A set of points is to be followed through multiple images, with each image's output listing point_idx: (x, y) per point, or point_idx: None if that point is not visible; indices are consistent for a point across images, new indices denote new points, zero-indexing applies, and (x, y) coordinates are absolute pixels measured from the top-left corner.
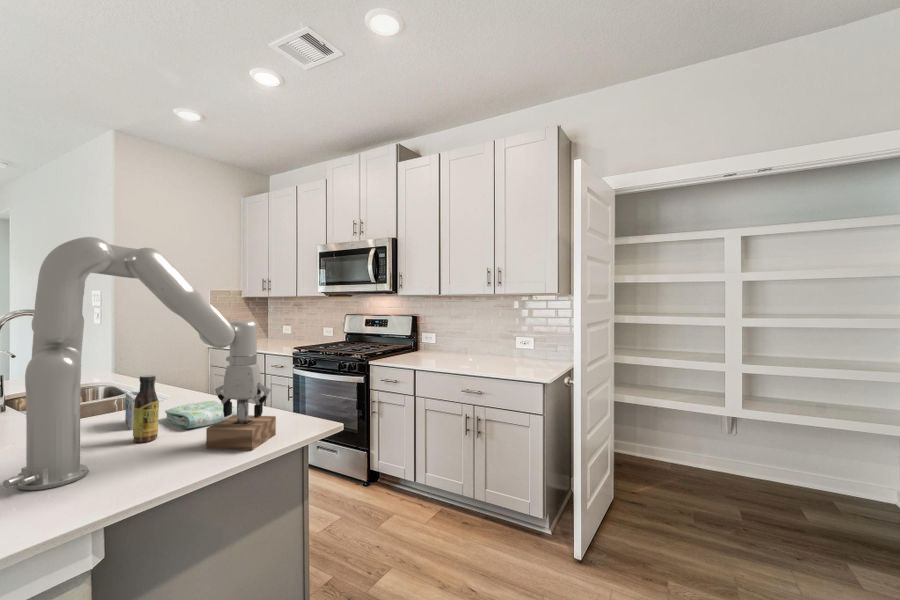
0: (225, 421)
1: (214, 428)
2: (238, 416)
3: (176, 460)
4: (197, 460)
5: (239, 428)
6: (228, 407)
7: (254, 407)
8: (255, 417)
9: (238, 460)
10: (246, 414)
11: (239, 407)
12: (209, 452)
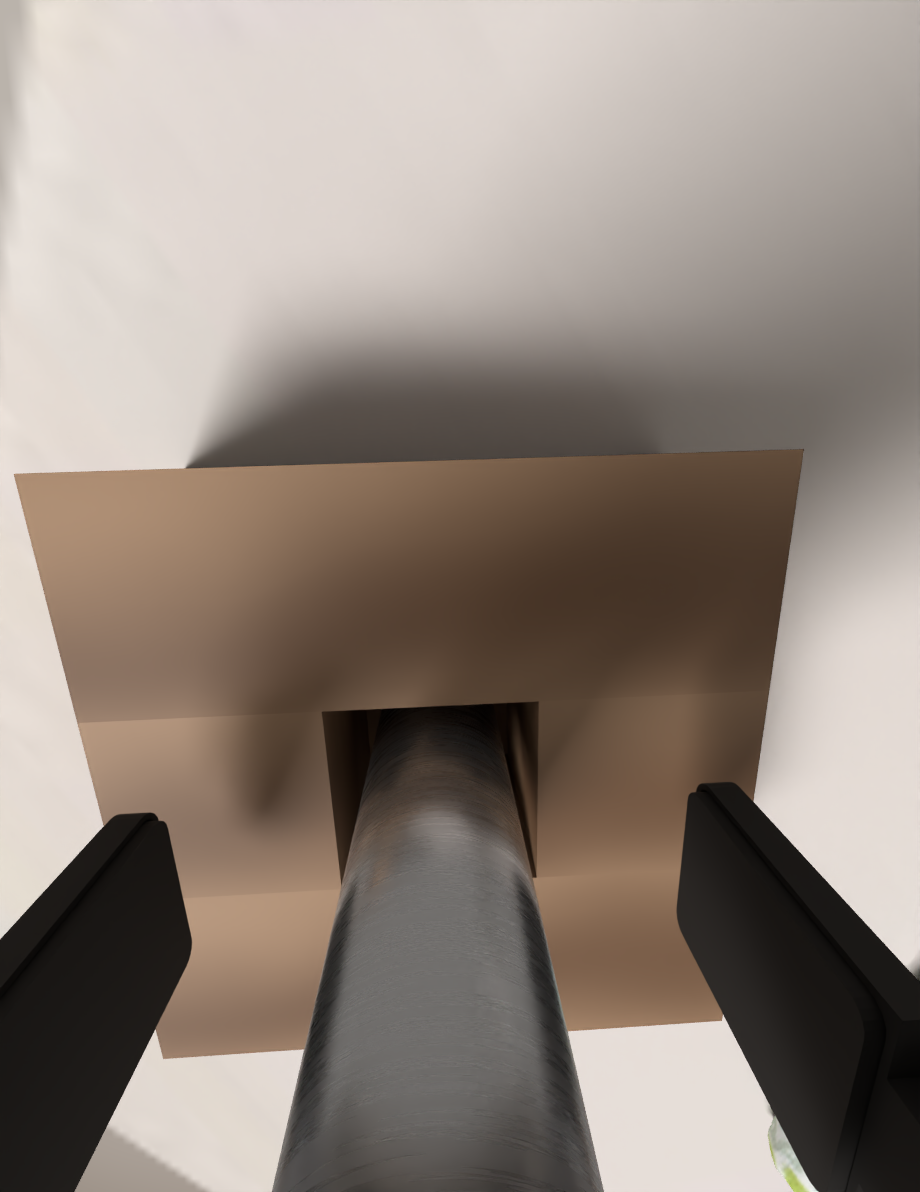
0: (691, 783)
1: (673, 458)
2: (459, 801)
3: (779, 81)
4: (559, 111)
5: (279, 518)
6: (776, 983)
7: (2, 1010)
8: (130, 813)
9: (124, 169)
10: (343, 878)
11: (440, 962)
12: (573, 361)
